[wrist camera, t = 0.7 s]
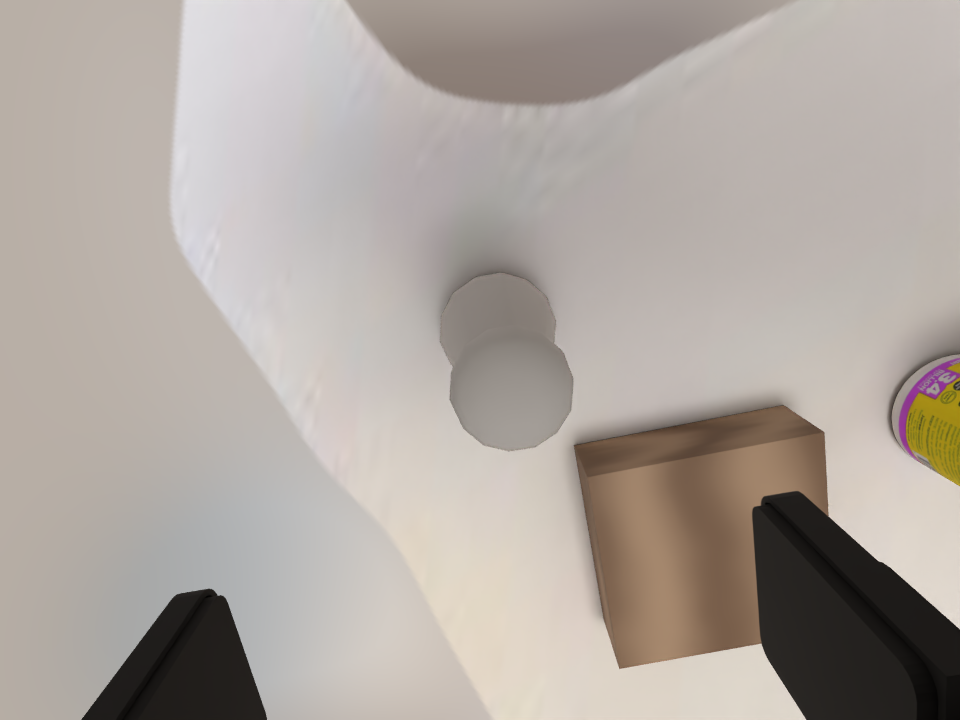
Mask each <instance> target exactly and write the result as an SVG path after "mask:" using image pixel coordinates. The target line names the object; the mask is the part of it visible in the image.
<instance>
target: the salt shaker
mask: <svg viewBox="0 0 960 720" xmlns="http://www.w3.org/2000/svg"><path fill="white" fill-rule="evenodd" d="M555 327H556V320H555V317H554V315H553V312H552V310H551V307H550V305H549V302H548V299H547V297H546V296H545V295H544V294H543V293H541V292H540V291H539V290H538V289H537V288H536V287H535V286H534V285H532V284H531V283H530V282H529V281H528V280H526V279H523V278H519V277H516V276H512V275H509V274H506V273H502V272H500V273H495V274H490V275H484V276H479V277H475V278H473V279H472V280H471V281H469V282H468V283H466V284H465V285H463V286H462V287H461V288H459V289H458V290H456V291H455V292H453V294H452V296H451V298H450V300H449V302H448V304H447V306H446V308H445V310H444V312H443V313H442V315H441V331H440V343H441V345H442V347H443V349H444V351H445V353H446V355H447V357H448V359H449V362H450V364H451V365H452V366H453V369H452V372H451V384H450V401H451V403H452V406H453V408H454V410H455V412H456V414H457V416H458V418H459V420H460V422H461V425H462V427H463V429H465V430H466V431H467V432H468V433H469V434H470V435H472V436H473V437H474V438H475V439H476V440H478V441H479V442H480V443H481V444H482V445H485V446H489V447H493V448H497V449H501V450H505V451H515V450H521V449H527V448H534V447H536V446H538V445H539V444H541V443H542V442H544V441H545V440H547V439H548V438H550V437H551V436H553V435H554V434H556V433H557V432H558V430H559V429H560V427H561V425H562V424H563V422H564V421H565V419H566V418H567V416H568V414H569V413H570V411H571V405H572V394H573V376H572V374H571V371H570V368H569V366H568V363H567V360H566V358H565V355H564V353H563V352H562V351H561V349H560V348H558V347H557V346H556V345H555V344H554V339H555Z"/></svg>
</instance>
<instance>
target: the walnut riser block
mask: <svg viewBox="0 0 960 720" xmlns="http://www.w3.org/2000/svg"><path fill="white" fill-rule="evenodd" d="M574 448H575V454H576V460H577V466H578V472H579V478H580V483H581V489H582V495H583V501H584V507H585V513H586V518H587V524H588V530H589V536H590V542H591V548H592V553H593V559H594V565H595V571H596V577H597V583H598V588H599V594H600V600H601V606H602V612H603V618H604V622H605V625H606V628H607V631H608V634H609V637H610V640H611V644H612V647H613V650H614V653H615V656H616V659H617V662H618V666H619V669H621V668H627V667H632V666H638V665H644V664H649V663H655V662H660V661H666V660H672V659H677V658H683V657H688V656H694V655H700V654H705V653H711V652H716V651H722V650H728V649H733V648H739V647H744V646H750V645H756V644H761V638H760V626H759V612H758V597H757V582H756V567H755V552H754V537H753V522H752V510H753V508H754V507H755V506H761V500H762V498H763V497H764V496H768V495H774V494H780V493H786V492H792V491H799V492H801V493H803V494H804V495H805V496H806V497H807V498H808V499H809V500H810V501H812V502H813V503H814V504H815V505H816V506H817V507H818V508H819V509H820V510H822V511H823V512H824V513H825V514H826V515H827V516H828V497H827V476H826V456H825V436H824V432H823V431H822V430H820V429H819V428H817V427H816V426H814V425H813V424H811V423H810V422H808V421H807V420H805V419H803V418H802V417H800V416H799V415H797V414H796V413H794V412H793V411H791V410H790V409H788V408H787V407H785V406H784V405H782V406H777V407H772V408H767V409H762V410H756V411H751V412H746V413H741V414H736V415H730V416H725V417H720V418H715V419H710V420H704V421H699V422H694V423H689V424H684V425H678V426H673V427H668V428H663V429H658V430H652V431H647V432H642V433H637V434H632V435H626V436H621V437H616V438H611V439H606V440H600V441H595V442H590V443H585V444H580V445H574Z"/></svg>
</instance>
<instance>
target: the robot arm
mask: <svg viewBox="0 0 960 720" xmlns="http://www.w3.org/2000/svg"><path fill="white" fill-rule="evenodd" d="M752 522H753V537H754V552H755V567H756V582H757V597H758V612H759V626H760V638H761V643H762V646H763V649H764V652H765V654H766V656H767V658H768V660H769V662H770V663H771V665H772V666H773V668H774V670H775V671H776V673H777V674H778V676H779V677H780V679H781V681H782V682H783V684H784V685H785V687H786V688H787V690H788V692H789V693H790V695H791V696H792V698H793V699H794V701H795V702H796V704H797V706H798V707H799V709H800V710H801V712H802V713H803V715H804V717H805V718H806V720H960V629H959V628H958V627H956V626H955V625H954V624H953V623H952V622H951V621H950V620H949V619H947V618H946V617H945V616H944V615H943V614H942V613H941V612H939V611H938V610H937V609H936V608H935V607H934V606H933V605H932V604H930V603H929V602H928V601H927V600H926V599H925V598H924V597H923V596H921V595H920V594H919V593H918V592H917V591H916V590H915V589H914V588H912V587H911V586H910V585H909V584H908V583H907V582H906V581H905V580H903V579H902V578H901V577H900V576H899V575H898V574H897V573H896V572H894V571H893V570H892V569H891V568H890V567H888V566H887V565H885V564H884V563H882V562H878V561H877V560H876V559H875V558H874V557H873V556H872V555H871V554H870V553H868V552H867V551H866V550H865V549H864V548H863V547H862V546H861V545H859V544H858V543H857V542H856V541H855V540H854V539H853V538H852V537H851V536H849V535H848V534H847V533H846V532H845V531H844V530H843V529H842V528H841V527H839V526H838V525H837V524H836V523H835V522H834V521H833V520H832V519H831V518H829V517H828V516H827V515H826V514H825V513H824V512H823V511H822V510H820V509H819V508H818V507H817V506H816V505H815V504H814V503H813V502H812V501H810V500H809V499H808V498H807V497H806V496H805V495H804V494H803V493H801V492H799V491H792V492H786V493H780V494H774V495H768V496H764V497H763V498H762V500H761V506H755V507H754V508H753V510H752ZM82 720H267V717H266V713H265V710H264V707H263V704H262V701H261V698H260V695H259V692H258V689H257V686H256V684H255V681H254V678H253V675H252V672H251V669H250V666H249V663H248V660H247V657H246V654H245V652H244V649H243V646H242V643H241V640H240V637H239V634H238V631H237V628H236V626H235V622H234V620H233V617H232V614H231V611H230V608H229V605H228V602H227V600H226V598H225V597H224V596H221V595H220V596H217V594H216V593H215V591H214V590H212V589H205V590H198V591H192V592H187V593H181V594H177V595H176V596H174V597H173V598H172V600H171V601H170V602H169V604H168V605H167V606H166V608H165V609H164V610H163V612H162V613H161V614H160V616H159V617H158V618H157V620H156V621H155V622H154V624H153V625H152V626H151V628H150V629H149V630H148V632H147V633H146V634H145V636H144V637H143V638H142V640H141V641H140V642H139V644H138V645H137V646H136V648H135V649H134V650H133V652H132V653H131V654H130V656H129V657H128V658H127V660H126V661H125V662H124V664H123V665H122V666H121V668H120V669H119V670H118V672H117V673H116V674H115V676H114V677H113V678H112V680H111V681H110V682H109V684H108V685H107V686H106V688H105V689H104V690H103V692H102V693H101V694H100V696H99V697H98V698H97V700H96V701H95V702H94V704H93V705H92V706H91V708H90V709H89V710H88V712H87V713H86V714H85V716H84V717H83V718H82Z"/></svg>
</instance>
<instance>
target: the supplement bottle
mask: <svg viewBox="0 0 960 720" xmlns="http://www.w3.org/2000/svg"><path fill="white" fill-rule="evenodd" d="M892 425H893V431H894V434H895V437H896V439H897V441H898V443H899V444H900V446H901V447H902V448H903V450H904V451H905V452H906V453H908V454H909V455H910V456H911V457H913V458H914V459H916V460H917V461H919V462H920V463H922V464H923V465H925V466H927V467H928V468H930V469H932V470H934V471H935V472H937V473H939V474H940V475H942V476H944V477H945V478H947V479H949V480H950V481H952V482H954V483H955V484H957V485H959V486H960V354H957V355H951V356H946V357H943V358H940V359H937V360H935V361H932V362H930V363H928V364H927V365H925V366H923V367H922V368H920V369H919V370H918V371H916V372H915V373H914V374H913V375H912V376H911V377H910V378H909V379H908V380H907V381H906V382H905V384H904V385H903V386H902V388H901V390H900V391H899V393H898V395H897V397H896V400H895V403H894V406H893V411H892Z"/></svg>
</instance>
